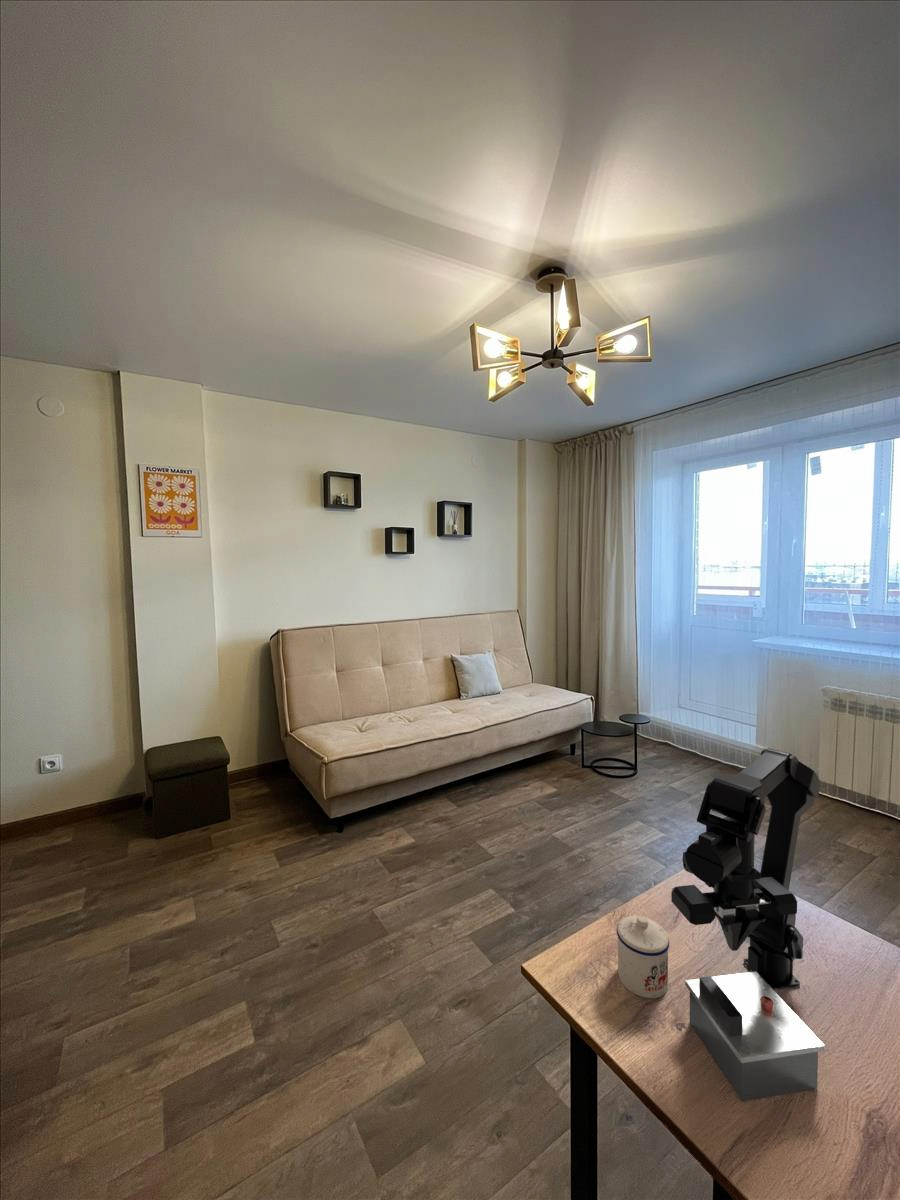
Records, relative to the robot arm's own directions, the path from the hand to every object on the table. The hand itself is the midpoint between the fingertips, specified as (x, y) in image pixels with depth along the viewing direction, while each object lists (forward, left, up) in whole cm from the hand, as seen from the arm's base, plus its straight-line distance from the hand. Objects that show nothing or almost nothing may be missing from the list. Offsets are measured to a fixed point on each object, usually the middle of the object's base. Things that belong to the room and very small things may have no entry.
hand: (732, 948), depth 79 cm
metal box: (+1, +5, -13) cm, 14 cm away
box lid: (+1, +5, -7) cm, 8 cm away
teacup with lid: (+9, -11, -13) cm, 19 cm away
